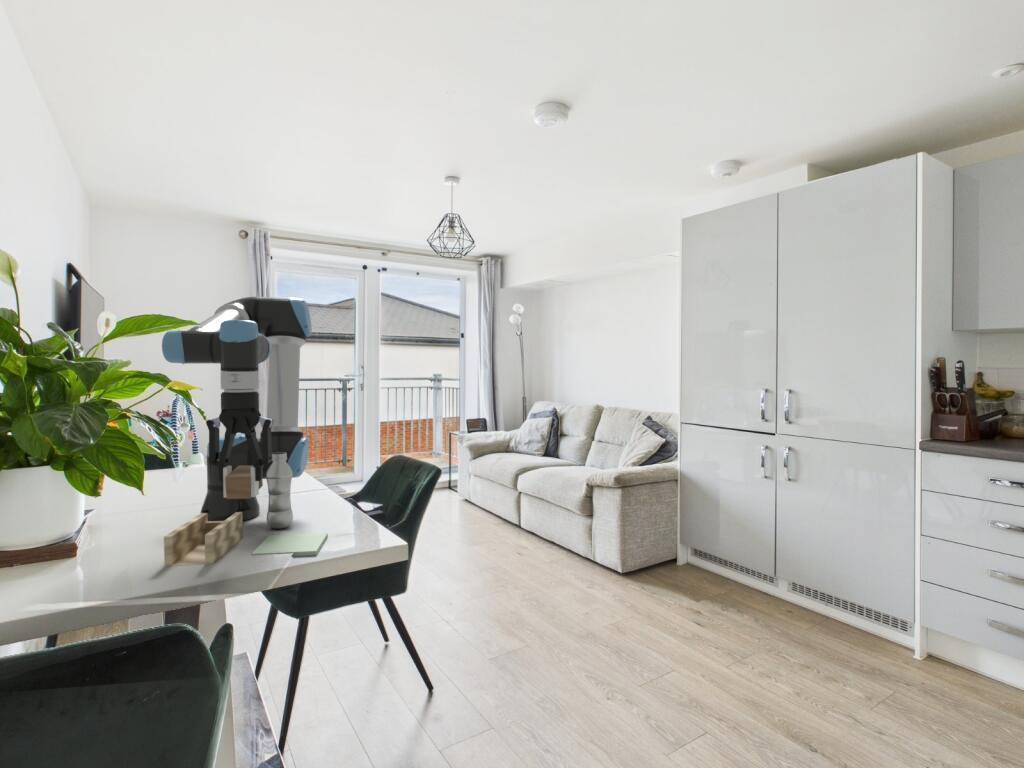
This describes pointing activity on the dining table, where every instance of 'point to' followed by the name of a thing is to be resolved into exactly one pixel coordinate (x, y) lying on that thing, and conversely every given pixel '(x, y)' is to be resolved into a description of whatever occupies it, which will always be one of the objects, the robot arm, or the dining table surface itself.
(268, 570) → the dining table surface
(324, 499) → the dining table surface
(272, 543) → the green pad
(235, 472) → the walnut block
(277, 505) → the plastic bottle
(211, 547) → the oak rack
